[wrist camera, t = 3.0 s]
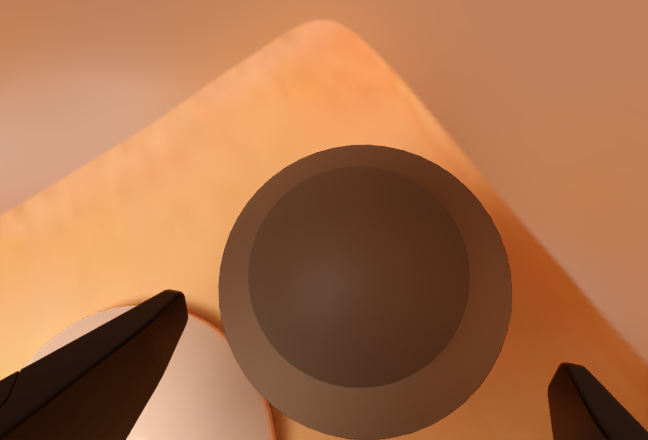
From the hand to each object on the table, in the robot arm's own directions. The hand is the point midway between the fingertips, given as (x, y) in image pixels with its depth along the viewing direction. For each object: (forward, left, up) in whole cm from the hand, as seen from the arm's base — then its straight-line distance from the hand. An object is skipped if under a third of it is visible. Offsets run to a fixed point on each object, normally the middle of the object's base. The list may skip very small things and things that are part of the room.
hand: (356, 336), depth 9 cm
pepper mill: (+1, 0, -9) cm, 9 cm away
